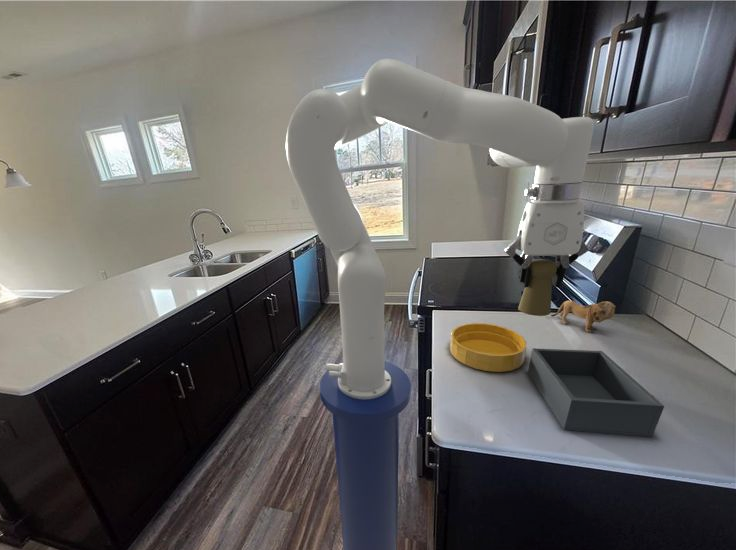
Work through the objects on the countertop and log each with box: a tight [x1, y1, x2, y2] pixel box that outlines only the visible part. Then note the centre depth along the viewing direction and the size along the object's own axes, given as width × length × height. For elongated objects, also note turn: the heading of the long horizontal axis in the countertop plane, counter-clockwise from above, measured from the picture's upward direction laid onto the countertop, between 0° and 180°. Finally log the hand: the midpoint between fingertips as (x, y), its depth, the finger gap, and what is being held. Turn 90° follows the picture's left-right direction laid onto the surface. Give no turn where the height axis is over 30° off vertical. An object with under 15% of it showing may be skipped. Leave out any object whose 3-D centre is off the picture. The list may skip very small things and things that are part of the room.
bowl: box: [449, 322, 528, 373], centre depth 81 cm, size 17×17×4 cm
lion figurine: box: [550, 300, 616, 333], centre depth 91 cm, size 15×5×9 cm, turn 35°
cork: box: [517, 258, 557, 317], centre depth 66 cm, size 6×6×11 cm
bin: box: [527, 347, 665, 438], centre depth 62 cm, size 14×18×7 cm
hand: (538, 284), depth 66 cm, fingers closed on cork, 5 cm apart
